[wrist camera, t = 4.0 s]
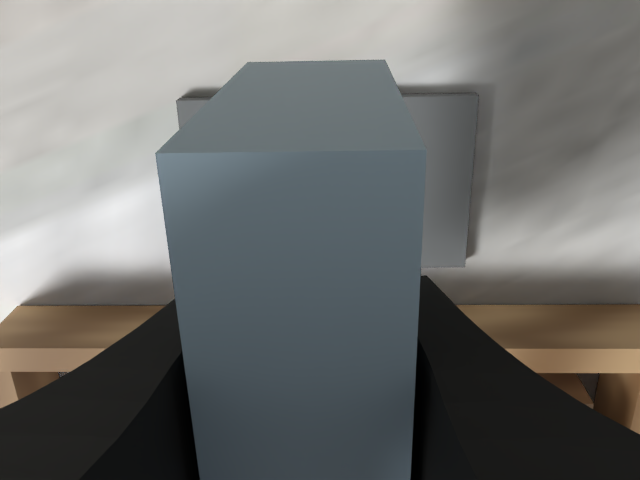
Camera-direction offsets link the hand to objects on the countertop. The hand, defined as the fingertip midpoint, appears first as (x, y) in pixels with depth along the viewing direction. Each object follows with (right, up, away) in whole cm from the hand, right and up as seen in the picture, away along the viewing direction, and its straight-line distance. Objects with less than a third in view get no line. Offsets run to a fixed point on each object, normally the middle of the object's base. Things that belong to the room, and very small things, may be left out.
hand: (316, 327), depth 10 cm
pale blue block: (0, +1, +2) cm, 3 cm away
